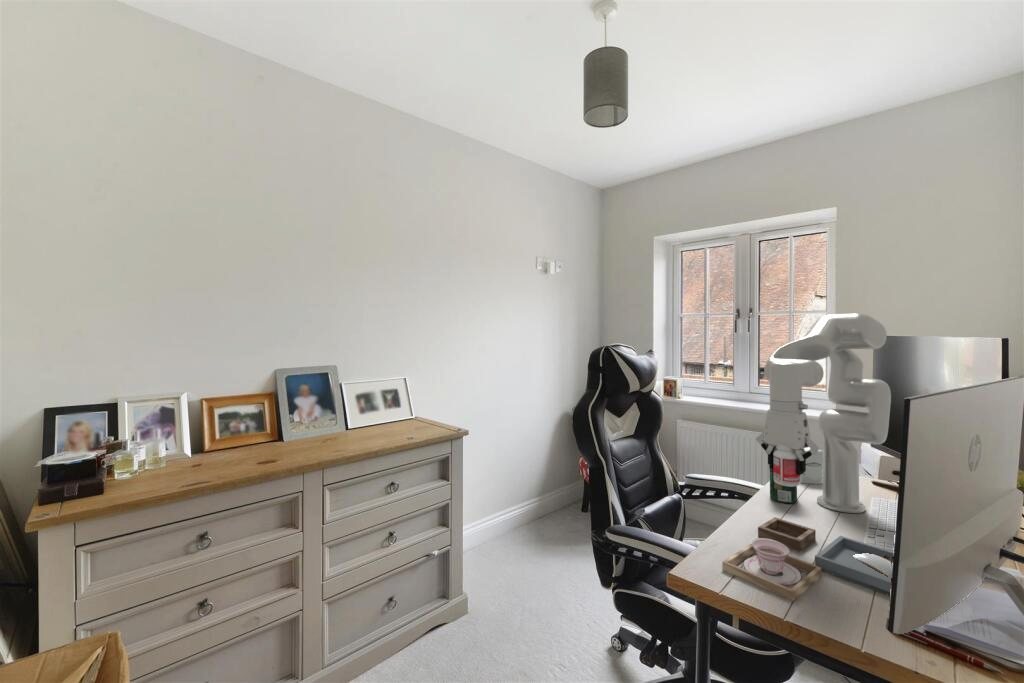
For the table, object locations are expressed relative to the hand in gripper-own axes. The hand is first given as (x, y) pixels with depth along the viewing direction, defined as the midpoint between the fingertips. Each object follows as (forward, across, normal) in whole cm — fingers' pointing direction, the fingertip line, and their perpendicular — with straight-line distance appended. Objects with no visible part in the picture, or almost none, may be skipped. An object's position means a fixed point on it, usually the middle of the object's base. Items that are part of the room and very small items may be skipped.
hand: (786, 470), depth 120 cm
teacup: (+20, -5, +20) cm, 29 cm away
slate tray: (+19, -19, +2) cm, 27 cm away
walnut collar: (+19, 0, 0) cm, 19 cm away
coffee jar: (+20, +13, -30) cm, 38 cm away
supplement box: (+20, +15, -56) cm, 61 cm away
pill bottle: (+4, 0, 0) cm, 4 cm away
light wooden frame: (+19, -5, +21) cm, 29 cm away
